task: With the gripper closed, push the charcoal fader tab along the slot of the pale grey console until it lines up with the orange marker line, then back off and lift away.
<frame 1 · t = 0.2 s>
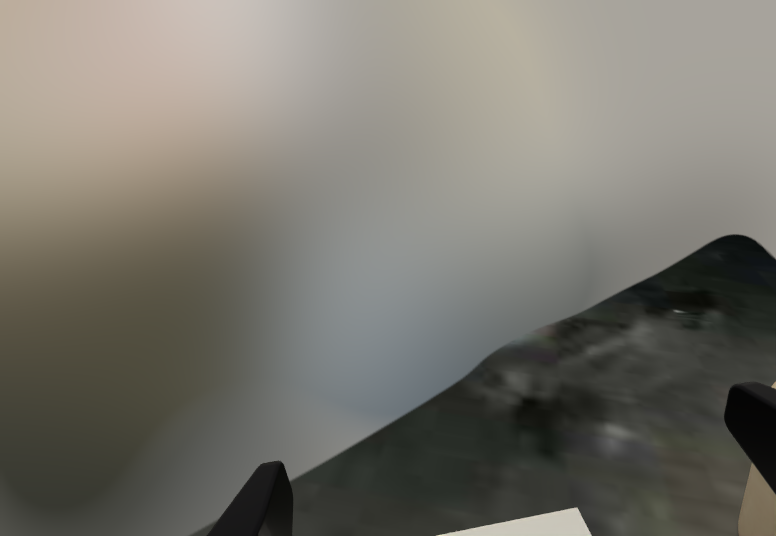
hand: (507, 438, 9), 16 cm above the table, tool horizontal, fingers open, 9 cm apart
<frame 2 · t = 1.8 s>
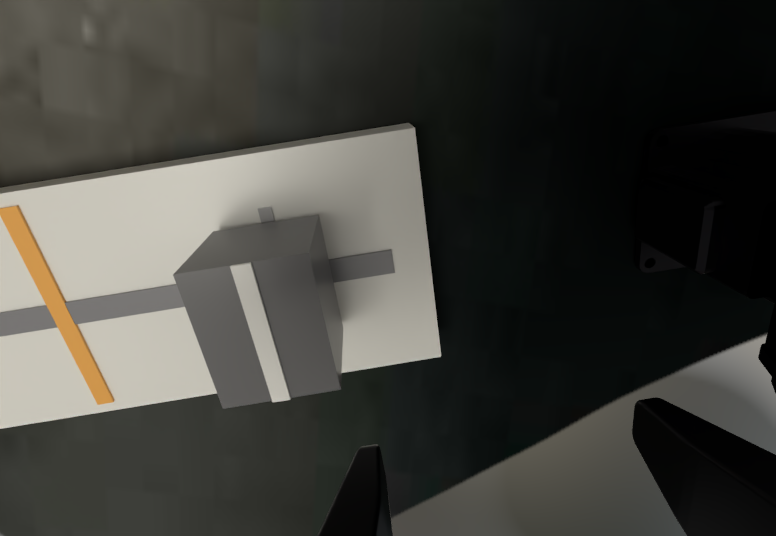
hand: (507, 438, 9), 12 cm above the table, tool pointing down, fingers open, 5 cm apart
console: (201, 274, 20), on the table
fader: (273, 306, 16), point 4 cm above the table, slide at 0.0 cm
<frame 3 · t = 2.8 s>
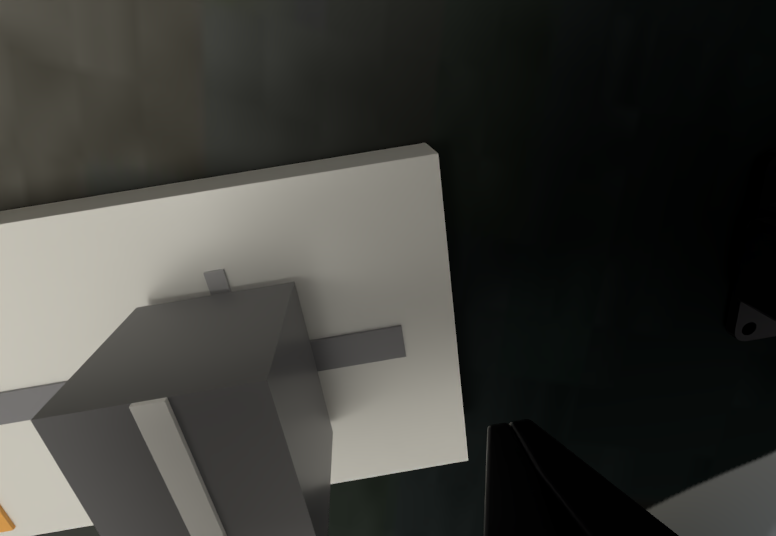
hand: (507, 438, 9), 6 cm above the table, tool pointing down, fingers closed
console: (136, 350, 14), on the table
fader: (223, 429, 10), point 4 cm above the table, slide at 0.0 cm
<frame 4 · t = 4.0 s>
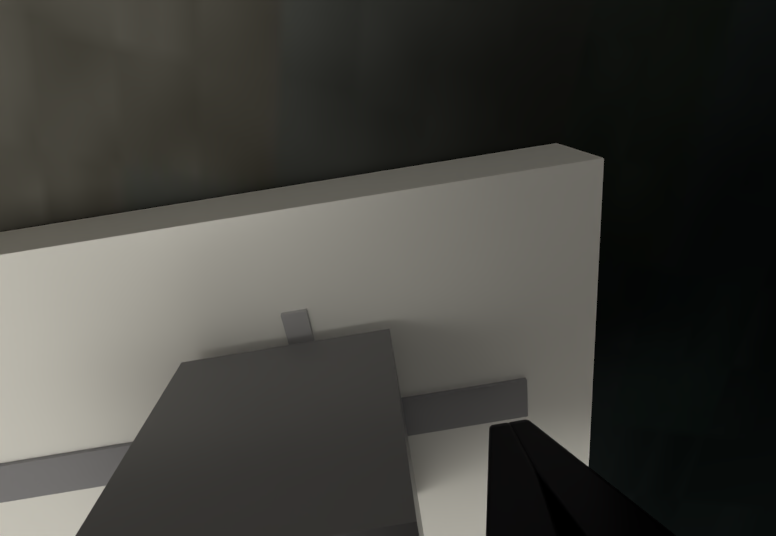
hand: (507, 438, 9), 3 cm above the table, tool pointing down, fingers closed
console: (178, 397, 12), on the table
fader: (303, 535, 8), point 4 cm above the table, slide at 0.2 cm, touching gripper
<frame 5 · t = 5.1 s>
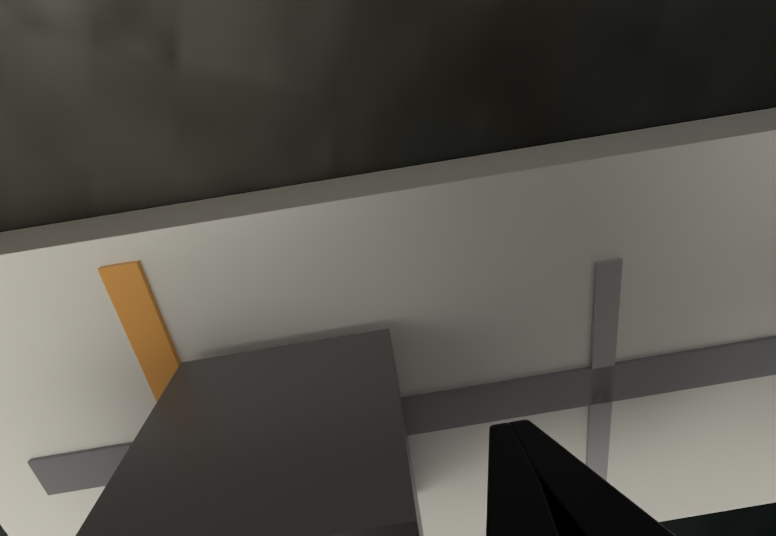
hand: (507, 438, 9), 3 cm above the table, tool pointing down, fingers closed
console: (411, 359, 12), on the table
fader: (303, 534, 8), point 4 cm above the table, slide at 6.4 cm, touching gripper
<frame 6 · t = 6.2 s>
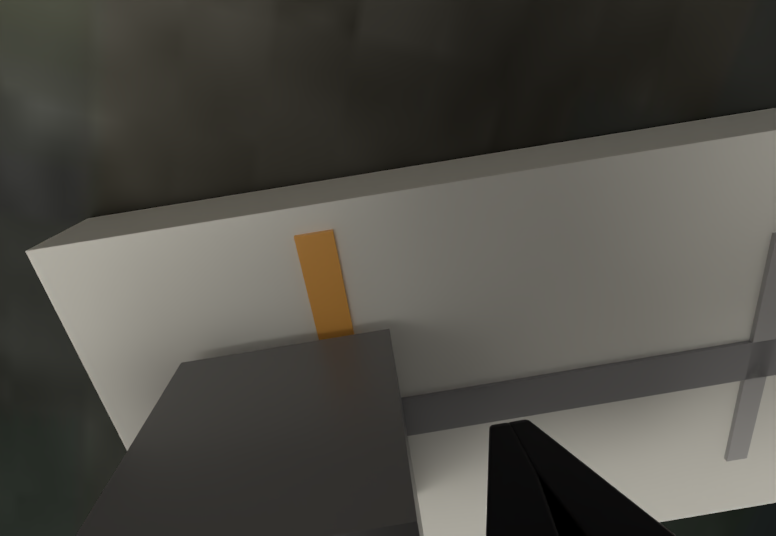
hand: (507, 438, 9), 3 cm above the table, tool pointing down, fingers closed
console: (543, 338, 12), on the table
fader: (303, 535, 8), point 4 cm above the table, slide at 9.9 cm, touching gripper
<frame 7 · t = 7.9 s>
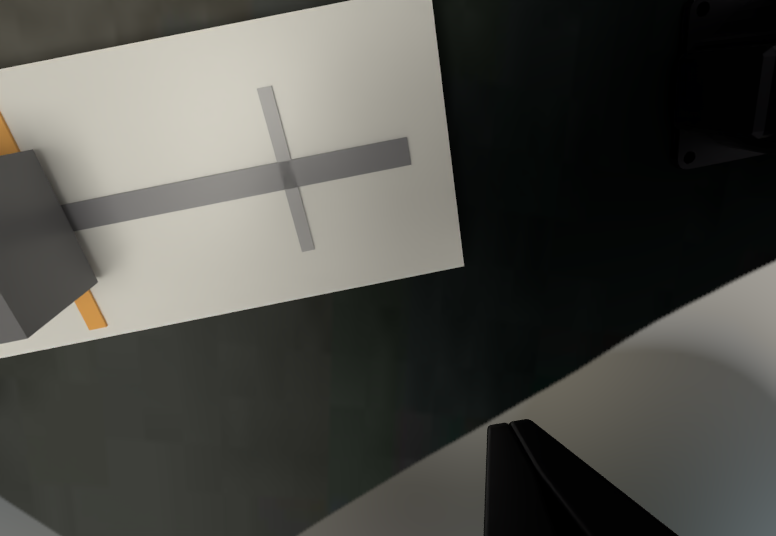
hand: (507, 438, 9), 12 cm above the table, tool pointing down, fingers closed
console: (197, 184, 18), on the table
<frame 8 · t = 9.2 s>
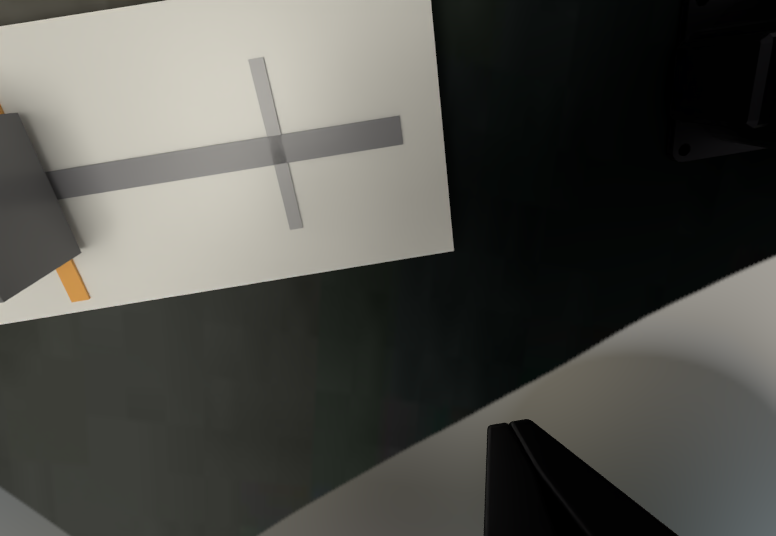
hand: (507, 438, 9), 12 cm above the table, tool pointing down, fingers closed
console: (187, 158, 18), on the table
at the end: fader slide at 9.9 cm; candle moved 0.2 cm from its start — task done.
